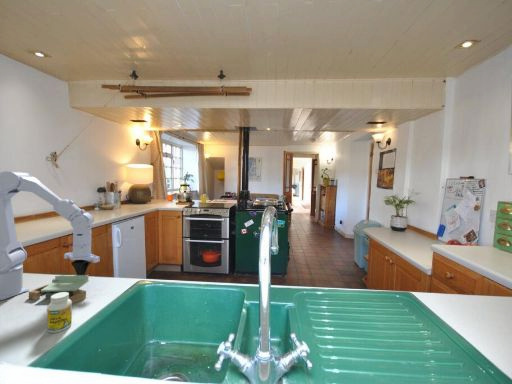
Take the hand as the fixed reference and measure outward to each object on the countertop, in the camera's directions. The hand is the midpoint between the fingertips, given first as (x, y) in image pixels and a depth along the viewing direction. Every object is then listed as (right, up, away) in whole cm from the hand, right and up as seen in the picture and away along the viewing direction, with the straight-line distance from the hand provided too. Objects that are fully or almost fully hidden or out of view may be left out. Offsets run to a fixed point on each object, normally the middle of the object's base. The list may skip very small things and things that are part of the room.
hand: (81, 278), depth 91 cm
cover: (-2, -1, -5) cm, 6 cm away
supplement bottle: (+12, -6, -24) cm, 27 cm away
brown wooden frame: (-2, -4, -8) cm, 9 cm away
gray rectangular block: (-2, -4, -8) cm, 9 cm away
